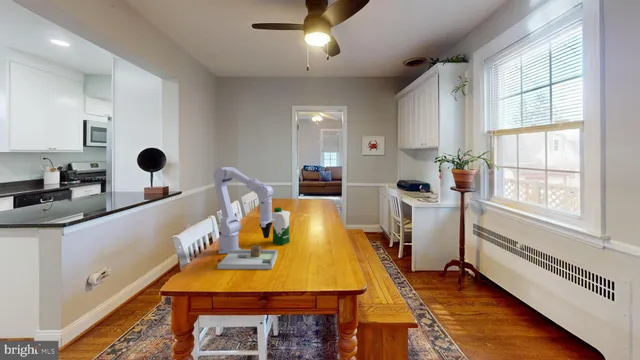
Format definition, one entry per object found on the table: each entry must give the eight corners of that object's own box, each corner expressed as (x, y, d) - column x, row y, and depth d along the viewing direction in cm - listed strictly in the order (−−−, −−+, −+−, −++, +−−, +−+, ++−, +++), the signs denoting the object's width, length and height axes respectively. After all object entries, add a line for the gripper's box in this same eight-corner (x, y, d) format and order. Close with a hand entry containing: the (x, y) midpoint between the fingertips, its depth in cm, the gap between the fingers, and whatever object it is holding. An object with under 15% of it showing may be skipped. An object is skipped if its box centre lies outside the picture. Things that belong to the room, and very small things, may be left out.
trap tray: (217, 268, 124) (217, 262, 124) (229, 255, 140) (229, 249, 140) (271, 269, 124) (271, 262, 124) (277, 255, 140) (277, 249, 140)
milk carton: (280, 239, 166) (279, 206, 164) (292, 242, 161) (291, 207, 159) (270, 243, 158) (269, 208, 156) (282, 246, 154) (282, 210, 152)
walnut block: (250, 256, 134) (250, 248, 134) (252, 253, 138) (252, 246, 138) (259, 257, 134) (258, 248, 134) (260, 253, 138) (260, 246, 138)
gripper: (271, 213, 128) (271, 242, 130) (276, 207, 143) (276, 233, 144) (256, 213, 128) (256, 242, 130) (262, 207, 143) (263, 233, 144)
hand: (266, 237), depth 137 cm, fingers closed
